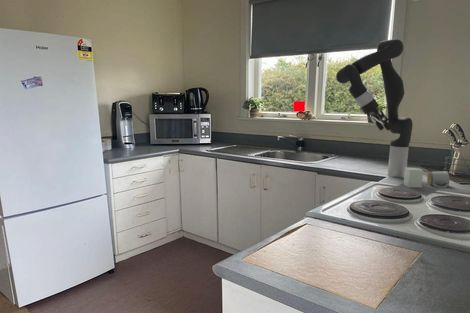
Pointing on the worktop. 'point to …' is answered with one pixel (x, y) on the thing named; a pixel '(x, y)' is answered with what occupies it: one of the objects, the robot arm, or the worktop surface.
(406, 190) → the mat
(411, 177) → the pale green block
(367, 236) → the worktop surface
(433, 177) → the ceramic mug
